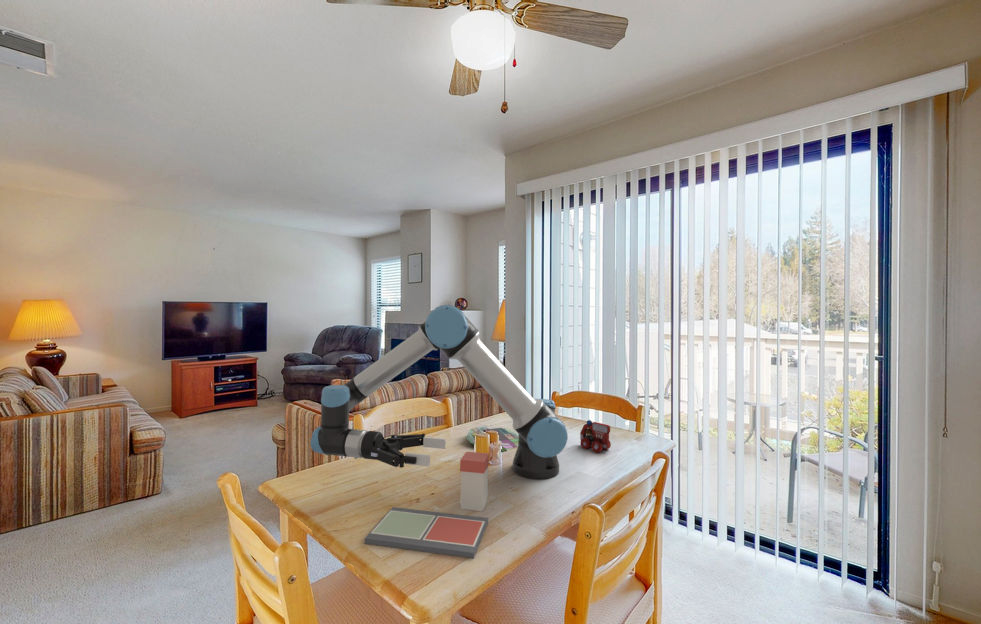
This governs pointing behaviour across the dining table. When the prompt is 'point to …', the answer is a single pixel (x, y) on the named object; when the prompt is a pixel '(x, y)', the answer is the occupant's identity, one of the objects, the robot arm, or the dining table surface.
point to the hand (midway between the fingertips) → (438, 451)
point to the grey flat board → (429, 532)
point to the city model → (505, 435)
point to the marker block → (474, 480)
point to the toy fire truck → (595, 436)
